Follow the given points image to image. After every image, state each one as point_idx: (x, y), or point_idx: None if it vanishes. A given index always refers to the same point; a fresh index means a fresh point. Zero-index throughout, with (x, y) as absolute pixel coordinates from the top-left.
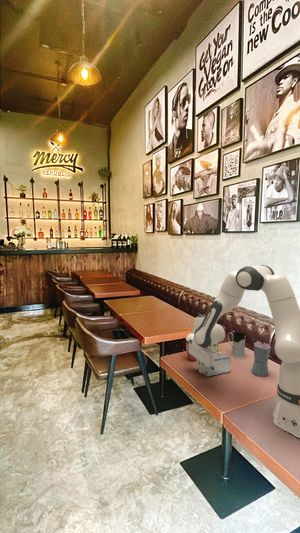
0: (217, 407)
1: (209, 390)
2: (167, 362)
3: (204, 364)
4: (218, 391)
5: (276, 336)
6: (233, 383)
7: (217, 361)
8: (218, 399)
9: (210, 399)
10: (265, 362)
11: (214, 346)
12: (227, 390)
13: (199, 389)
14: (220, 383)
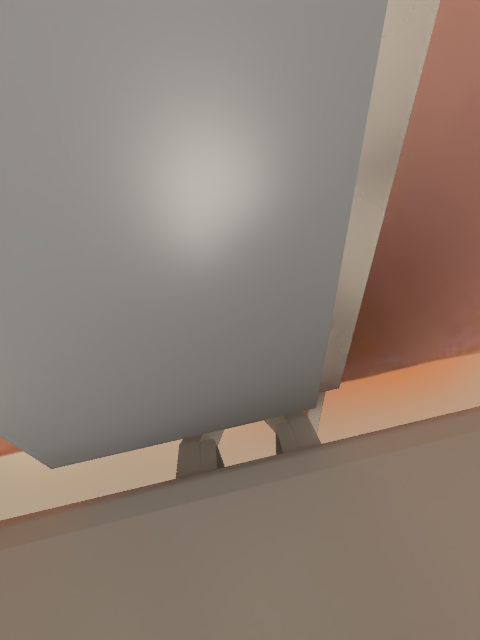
0: (475, 352)
1: (385, 338)
2: (19, 450)
3: (319, 411)
4: (424, 299)
5: None
6: (466, 87)
7: (390, 141)
8: (457, 329)
9: (429, 357)
10: None
11: None
12: (463, 237)
13: (350, 373)
14: (381, 235)
